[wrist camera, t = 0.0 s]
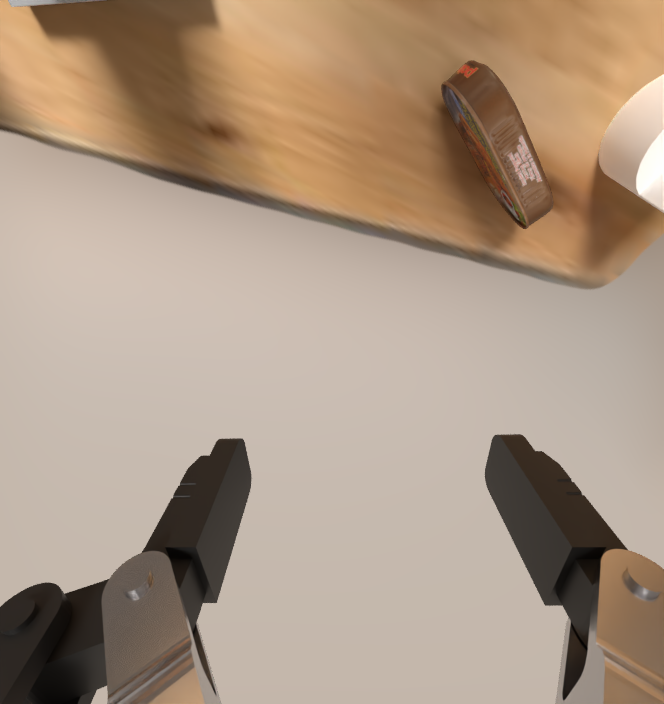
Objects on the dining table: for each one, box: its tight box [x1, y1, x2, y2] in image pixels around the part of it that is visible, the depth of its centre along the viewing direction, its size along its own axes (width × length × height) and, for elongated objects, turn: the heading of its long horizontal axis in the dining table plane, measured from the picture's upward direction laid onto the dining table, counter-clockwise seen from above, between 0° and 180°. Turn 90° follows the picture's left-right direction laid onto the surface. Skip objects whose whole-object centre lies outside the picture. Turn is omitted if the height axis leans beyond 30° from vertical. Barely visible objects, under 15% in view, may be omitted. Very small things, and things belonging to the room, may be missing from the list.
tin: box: [441, 61, 553, 229], centre depth 28 cm, size 15×3×8 cm, turn 42°
